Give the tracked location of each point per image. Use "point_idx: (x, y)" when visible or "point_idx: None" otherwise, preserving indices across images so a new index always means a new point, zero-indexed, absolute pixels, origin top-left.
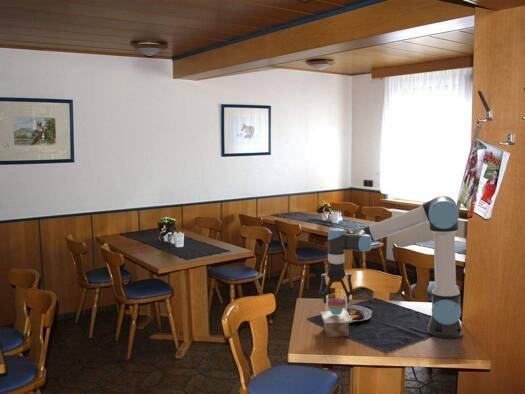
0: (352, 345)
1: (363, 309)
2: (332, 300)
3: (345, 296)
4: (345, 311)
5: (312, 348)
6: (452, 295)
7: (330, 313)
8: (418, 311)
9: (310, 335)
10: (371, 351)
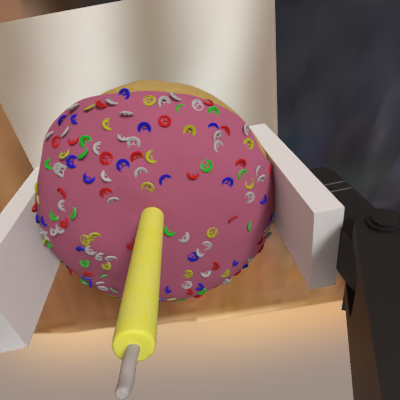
0: None
1: None
2: (107, 274)
3: (311, 284)
4: (251, 2)
5: (68, 294)
6: None
7: (95, 85)
8: None
9: (9, 170)
10: (300, 278)
